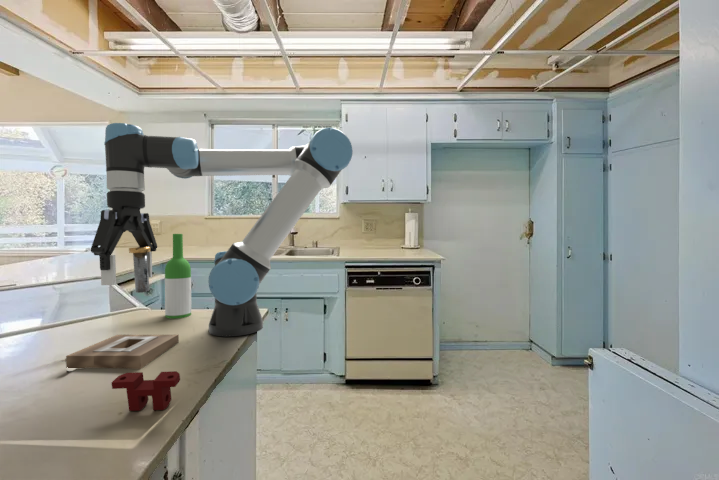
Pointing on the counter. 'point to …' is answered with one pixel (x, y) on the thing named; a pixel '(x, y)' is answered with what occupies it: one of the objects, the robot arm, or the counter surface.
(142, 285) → the flanged metal peg
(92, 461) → the counter surface
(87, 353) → the wooden square socket block
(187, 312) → the wine bottle
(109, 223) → the robot arm
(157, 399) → the bracket
